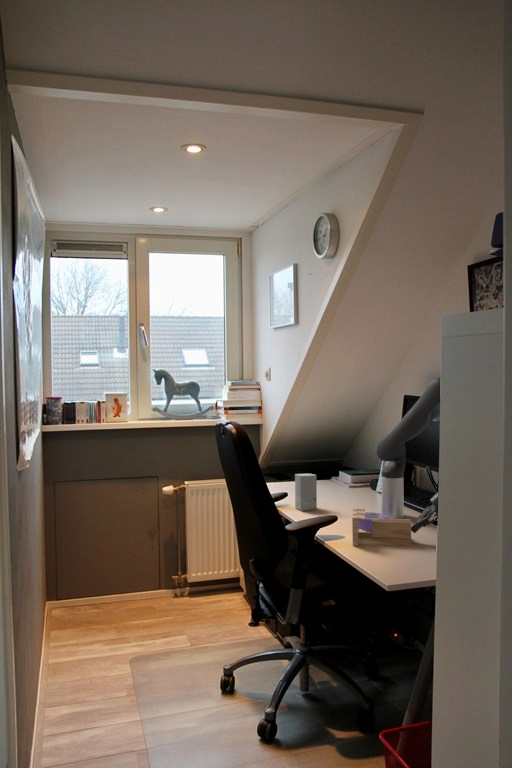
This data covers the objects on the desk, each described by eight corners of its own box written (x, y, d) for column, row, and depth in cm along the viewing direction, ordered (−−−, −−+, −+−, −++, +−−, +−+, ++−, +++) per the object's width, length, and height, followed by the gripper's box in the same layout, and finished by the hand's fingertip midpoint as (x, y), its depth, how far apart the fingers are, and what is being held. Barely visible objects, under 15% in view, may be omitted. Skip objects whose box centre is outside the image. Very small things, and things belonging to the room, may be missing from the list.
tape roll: (389, 525, 257) (389, 513, 257) (382, 533, 246) (382, 520, 246) (361, 522, 262) (361, 510, 262) (353, 529, 252) (352, 517, 251)
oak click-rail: (353, 535, 244) (353, 508, 243) (409, 536, 240) (409, 510, 239) (352, 545, 230) (352, 518, 229) (412, 547, 226) (411, 519, 226)
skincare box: (301, 511, 282) (300, 476, 281) (294, 508, 288) (293, 473, 288) (318, 509, 285) (317, 474, 284) (310, 506, 292) (310, 472, 291)
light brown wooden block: (372, 539, 238) (371, 518, 237) (410, 540, 235) (410, 519, 235) (372, 543, 233) (372, 521, 232) (411, 544, 230) (411, 522, 230)
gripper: (436, 487, 237) (403, 519, 240) (441, 495, 224) (405, 528, 227) (451, 501, 236) (418, 533, 239) (456, 510, 223) (421, 543, 226)
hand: (412, 530), depth 233 cm, fingers closed
